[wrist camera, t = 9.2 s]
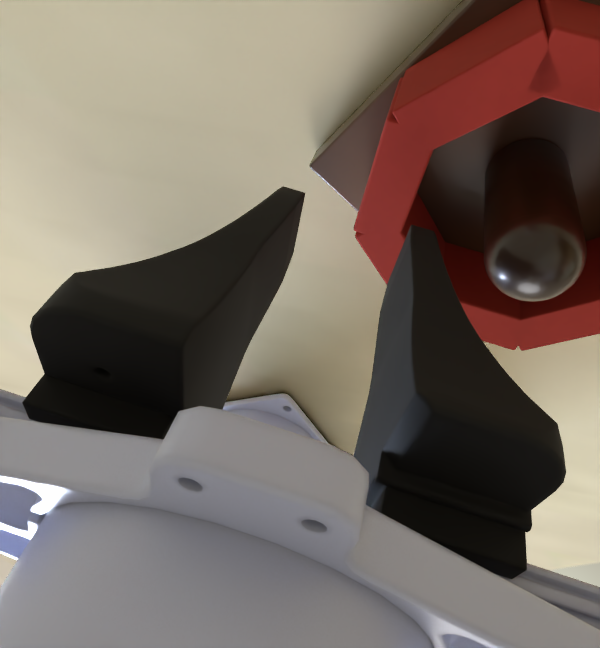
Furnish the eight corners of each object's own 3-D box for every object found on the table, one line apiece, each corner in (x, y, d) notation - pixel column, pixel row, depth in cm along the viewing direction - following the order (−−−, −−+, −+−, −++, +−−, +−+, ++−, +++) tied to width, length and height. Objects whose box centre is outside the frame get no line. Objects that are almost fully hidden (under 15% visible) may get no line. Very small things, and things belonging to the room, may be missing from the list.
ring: (804, 58, 12) (868, 108, 10) (585, 315, 19) (596, 376, 17) (434, -39, 13) (424, -10, 11) (349, 245, 19) (333, 296, 17)
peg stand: (780, 164, 15) (905, 316, 10) (488, 313, 22) (487, 445, 17) (588, -130, 12) (649, -93, 7) (315, 151, 18) (259, 260, 14)
